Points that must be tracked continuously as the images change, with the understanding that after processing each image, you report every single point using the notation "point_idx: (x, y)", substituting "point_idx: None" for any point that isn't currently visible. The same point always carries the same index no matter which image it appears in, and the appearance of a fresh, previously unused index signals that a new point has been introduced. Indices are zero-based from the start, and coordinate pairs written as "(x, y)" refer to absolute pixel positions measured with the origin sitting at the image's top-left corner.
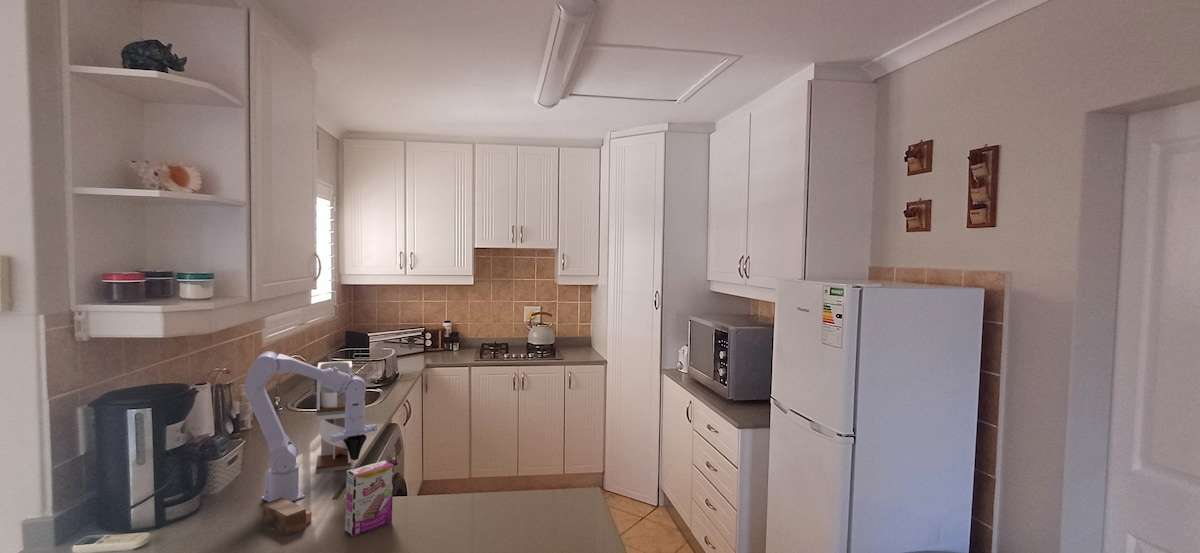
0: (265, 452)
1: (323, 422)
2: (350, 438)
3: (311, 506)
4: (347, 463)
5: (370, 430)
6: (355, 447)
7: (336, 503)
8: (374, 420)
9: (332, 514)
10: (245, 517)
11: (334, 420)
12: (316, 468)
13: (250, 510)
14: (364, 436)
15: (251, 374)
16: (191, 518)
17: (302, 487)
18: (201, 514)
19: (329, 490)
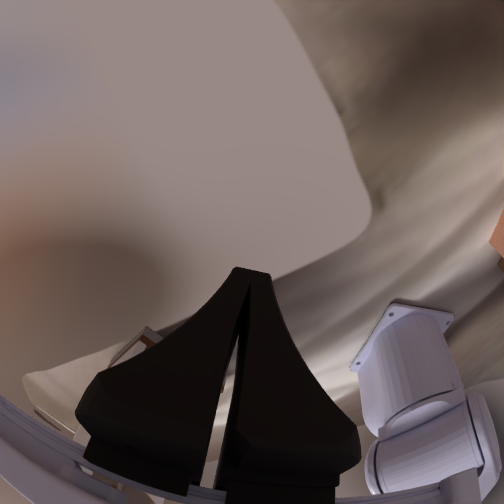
0: (209, 452)
1: (161, 501)
2: (305, 490)
3: (446, 234)
4: (148, 345)
5: (7, 415)
6: (276, 357)
7: (412, 165)
8: (32, 385)
9: (481, 119)
10: (493, 325)
11: (121, 484)
12: (222, 387)
13: (464, 344)
14: (109, 428)
15: None
16: (479, 382)
17: (323, 352)
18: (468, 384)
19: (317, 274)
